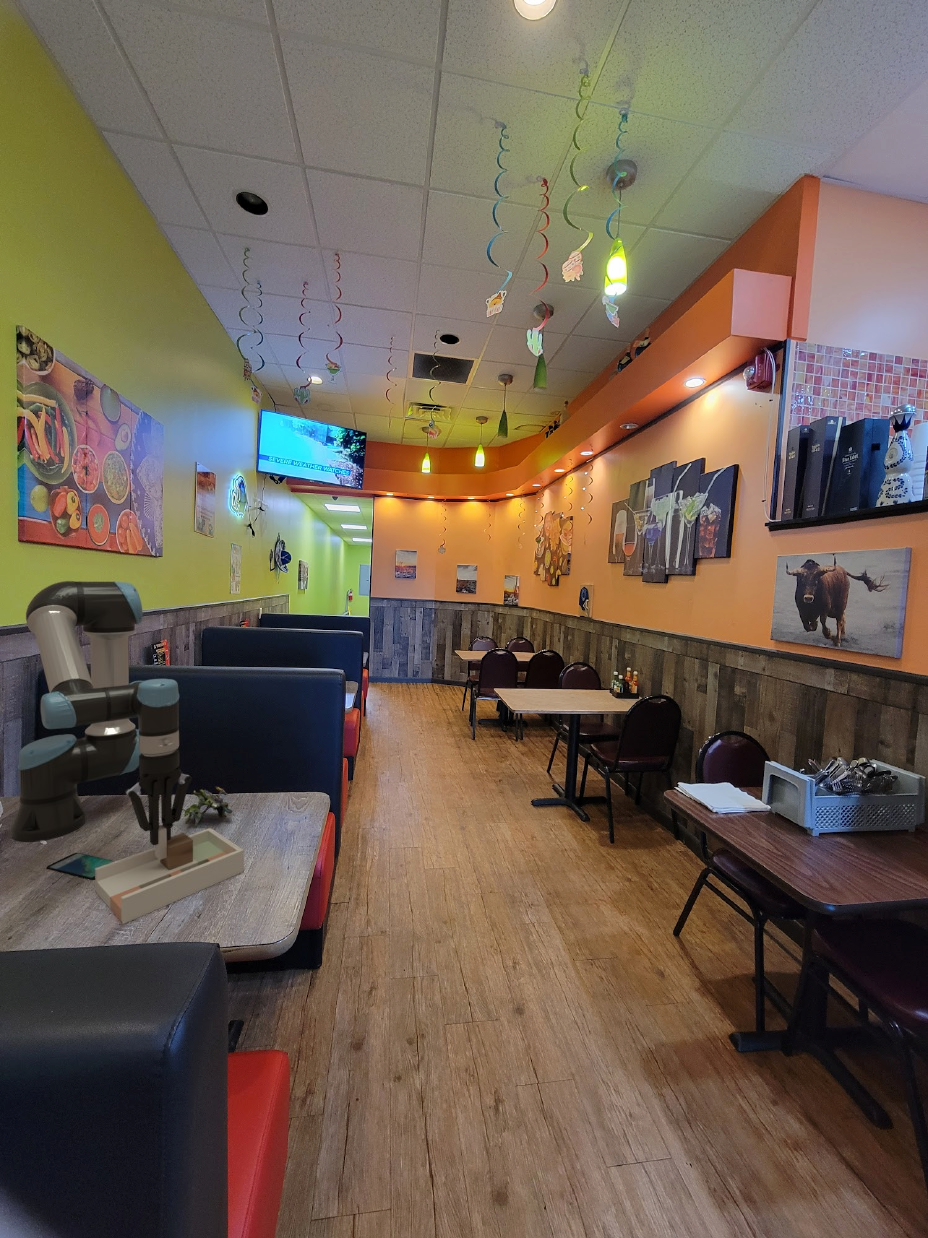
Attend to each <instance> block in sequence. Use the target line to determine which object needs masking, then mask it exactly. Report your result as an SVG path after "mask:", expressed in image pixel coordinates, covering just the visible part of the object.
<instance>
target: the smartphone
mask: <svg viewBox="0 0 928 1238" xmlns="http://www.w3.org/2000/svg"><path fill="white" fill-rule="evenodd" d="M115 861H116V860H112V859H107V858H102V857H98V856H94V855H90V854H87V853H86V854H85V853H82V852H73V853H72V854H69V855H67V856H65V857H63V858H60V859H59V860H57V861H55V862H52V863H50V864H49V865H46V867H45V868H46V870H50V871H53V872H56V873H57V872H58V873H62V874H65V875H69V876H72V877H76V876H78V877H77V878H80V879H84V878H85V880H88V879H89V880H88V881H95V868H98V867H101V866H103V865H106V864H109V863H112V862H115Z"/></svg>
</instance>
